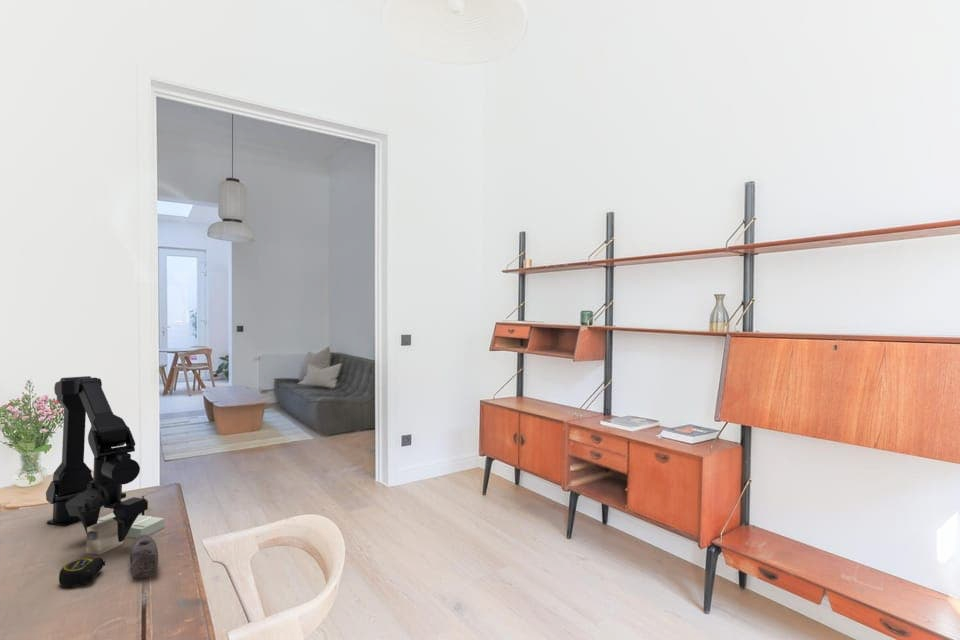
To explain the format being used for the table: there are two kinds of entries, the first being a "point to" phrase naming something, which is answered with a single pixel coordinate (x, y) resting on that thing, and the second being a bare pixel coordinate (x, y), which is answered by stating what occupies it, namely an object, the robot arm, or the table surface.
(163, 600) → the table surface
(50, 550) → the table surface
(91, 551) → the stacked beige grey blocks
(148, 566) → the perforated stone tool
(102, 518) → the painted board
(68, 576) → the tape measure
